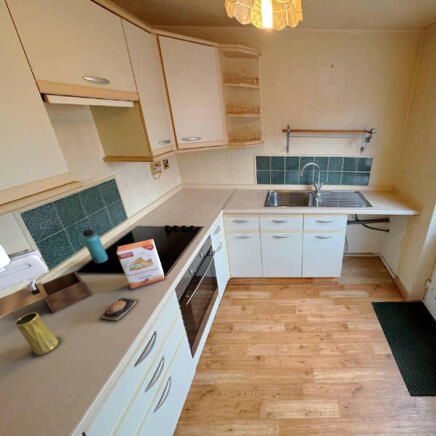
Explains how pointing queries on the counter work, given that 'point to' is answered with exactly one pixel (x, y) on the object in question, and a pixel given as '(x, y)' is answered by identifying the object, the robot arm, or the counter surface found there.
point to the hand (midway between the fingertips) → (11, 298)
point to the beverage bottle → (95, 247)
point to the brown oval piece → (118, 309)
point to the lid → (21, 299)
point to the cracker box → (140, 263)
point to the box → (65, 291)
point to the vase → (36, 333)
